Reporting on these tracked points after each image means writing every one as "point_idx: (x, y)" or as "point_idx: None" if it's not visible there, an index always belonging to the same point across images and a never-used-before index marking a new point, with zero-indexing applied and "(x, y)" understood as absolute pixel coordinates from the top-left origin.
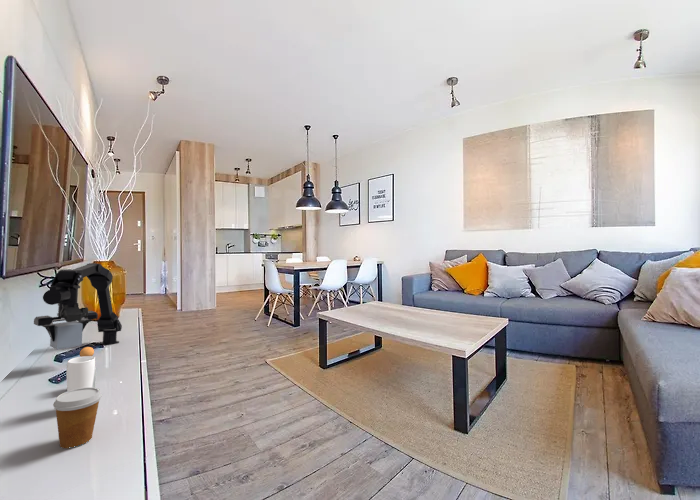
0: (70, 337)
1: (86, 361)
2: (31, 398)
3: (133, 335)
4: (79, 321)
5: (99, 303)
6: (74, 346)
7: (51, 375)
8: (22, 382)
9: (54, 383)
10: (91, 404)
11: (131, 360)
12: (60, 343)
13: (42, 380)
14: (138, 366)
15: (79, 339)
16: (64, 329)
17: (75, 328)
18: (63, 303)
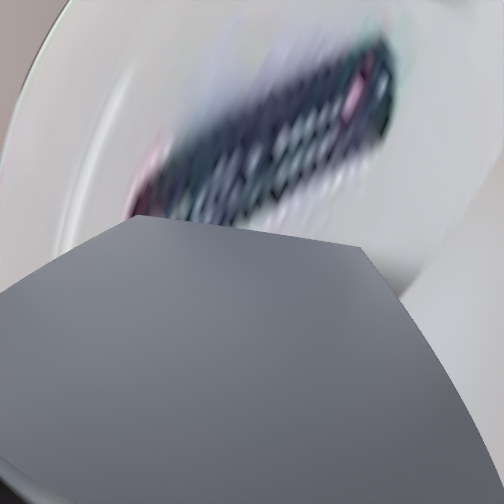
0: (219, 278)
1: None
2: (477, 4)
3: None
4: (17, 498)
5: None
6: (200, 224)
7: (349, 190)
8: (451, 207)
9: (393, 54)
10: None
11: (34, 111)
12: (348, 267)
13: (406, 150)
14: (69, 6)
15: (123, 239)
16: (350, 439)
17: (58, 365)
18: None
